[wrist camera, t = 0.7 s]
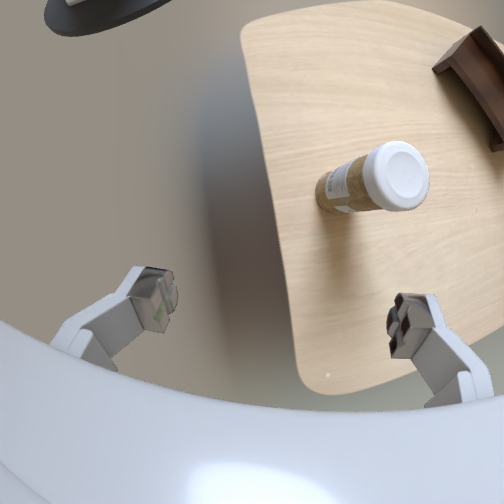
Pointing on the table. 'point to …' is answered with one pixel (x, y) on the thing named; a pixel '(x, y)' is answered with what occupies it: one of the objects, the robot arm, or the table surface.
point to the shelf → (480, 76)
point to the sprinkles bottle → (376, 181)
